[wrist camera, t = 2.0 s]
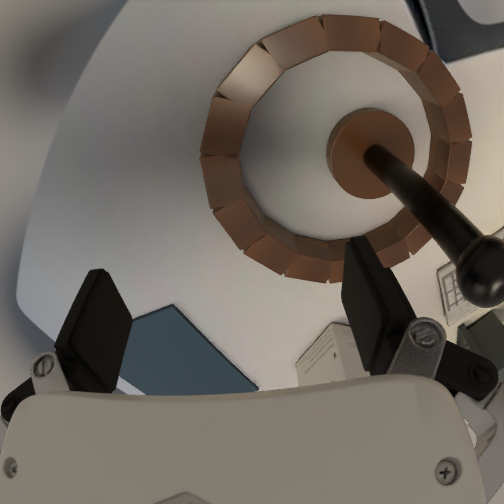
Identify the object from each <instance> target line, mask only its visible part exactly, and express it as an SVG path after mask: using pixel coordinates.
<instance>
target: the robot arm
mask: <svg viewBox="0 0 504 504" xmlns="http://www.w3.org/2000/svg"><path fill="white" fill-rule="evenodd" d="M341 299H342V303H343V306H344V309H345V312H346V315H347V318H348V321H349V324H350V327H351V330H352V333H353V336H354V339H355V342H356V346H357V349H358V352H359V355H360V358H361V362H362V365H363V368H364V370H365V372H367V371H369V373H370V376H368V377H362V378H355V379H349V380H343V381H337V382H330V383H324V384H317V385H309V386H302V387H295V388H287V389H278V390H269V391H259V392H247V393H233V394H215V395H181V396H161V395H125V394H124V395H123V394H112V391H114V390H115V389H116V385H117V381H118V377H119V373H120V369H121V365H122V361H123V357H124V353H125V349H126V346H127V342H128V338H129V335H130V331H131V328H132V324H133V320H132V316H131V314H130V312H129V310H128V309H127V307H126V305H125V303H124V301H123V299H122V297H121V296H120V294H119V292H118V290H117V288H116V286H115V284H114V282H113V280H112V278H111V276H110V274H109V273H108V272H106V271H105V270H104V269H94V270H90V271H89V272H88V274H87V276H86V278H85V280H84V282H83V284H82V286H81V288H80V290H79V292H78V294H77V296H76V298H75V300H74V302H73V304H72V306H71V308H70V311H69V313H68V315H67V317H66V319H65V321H64V324H63V326H62V328H61V330H60V333H59V335H58V337H57V340H56V342H55V345H54V347H55V348H56V351H55V353H54V352H53V351H44V352H42V353H40V354H39V355H38V356H37V357H36V358H35V359H34V361H33V362H32V364H31V369H30V372H31V377H30V378H29V379H28V380H26V381H25V382H24V383H22V384H21V385H20V386H18V387H17V388H16V389H15V390H13V391H12V392H11V393H9V394H8V395H7V396H6V397H5V399H4V400H3V402H2V405H1V416H0V504H488V502H489V501H490V500H491V499H492V497H493V496H494V495H495V493H496V492H497V491H498V489H499V488H500V486H501V485H502V483H503V482H504V381H503V382H502V381H501V380H499V379H498V377H499V376H498V371H497V369H496V367H495V365H494V364H493V363H492V362H491V361H490V360H488V359H487V358H485V357H482V356H480V355H478V354H476V353H474V352H471V351H469V350H467V349H465V348H463V347H460V346H458V345H456V344H454V343H452V342H449V341H447V340H446V332H445V330H444V328H443V326H442V325H441V324H440V323H438V322H437V321H435V320H433V319H431V318H427V317H420V318H417V317H416V315H415V313H414V311H413V309H412V307H411V305H410V303H409V301H408V299H407V297H406V295H405V294H404V292H403V290H402V288H401V286H400V284H399V282H398V281H397V279H396V277H395V275H394V274H393V272H392V270H391V269H390V268H389V267H386V268H384V267H383V265H382V263H381V261H380V260H379V258H378V256H377V254H376V253H375V251H374V249H373V247H372V246H371V244H370V242H369V240H368V239H367V237H366V236H359V237H351V238H350V242H346V244H345V256H344V268H343V280H342V290H341ZM464 419H466V420H467V421H468V422H469V423H468V426H469V427H470V428H471V429H472V430H473V431H474V433H475V434H476V438H477V442H476V447H475V448H474V447H473V443H472V440H471V437H470V434H469V431H468V428H467V426H466V423H465V421H464Z"/></svg>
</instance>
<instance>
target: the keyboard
mask: <svg viewBox="0 0 504 504" xmlns="http://www.w3.org/2000/svg"><path fill="white" fill-rule="evenodd" d="M492 236H496V237H498V238H500V239H502V240H503V241H504V227H503V228H502V229H501V230H499V231H498V232H496V233H495V234H493V235H492ZM455 273H456V267H455V265H454V264H453V263H452V262H451V263H449V264H447V265H446V266H444V267H442V268H441V269H439V270H438V272H437V274H438V278H439V282H440V287H441V292H442V297H443V303H444V308H445V314H446V321H447V324H448V326H450V325H452V324H454V323H455V322H457V321H459V320H460V319H462V318H463V317H465V316H467V315H468V314H470V313H471V312H473V311H474V310H476V309H477V308H479V307H477V306H475V305H473V304H471V303H470V302H468V301H467V300H466V299H465V298H464V297H463V295H462V294H461V292H460V290H459V288H458V285H457V282H456V274H455Z"/></svg>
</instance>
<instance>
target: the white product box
mask: <svg viewBox="0 0 504 504" xmlns="http://www.w3.org/2000/svg"><path fill="white" fill-rule="evenodd" d="M296 370H297V376H298V382H299V387H302V386H309V385H317V384H324V383H330V382H337V381H343V380H349V379H355V378H362V377H368V376H370V373H369V371H367V372H365V370H364V368H363V365H362V362H361V358H360V355H359V352H358V349H357V346H356V342H355V339H354V336H353V333H352V330H351V327H349V326H344V325H339V324H335V323H331V324H330V326H329V327H328V328H327V329H326V330H325V331H324V333H323V334H322V335H321V336H320V337H319V338H318V340H317V341H316V342H315V343H314V344H313V345H312V346H311V347H310V349H309V350H308V351H307V352H306V353H305V354H304V355H303V356H302V358H301V359H300V360H299V361H298V362H297V363H296Z"/></svg>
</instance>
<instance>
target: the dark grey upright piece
mask: <svg viewBox="0 0 504 504" xmlns="http://www.w3.org/2000/svg"><path fill="white" fill-rule="evenodd" d="M457 345H458V346H460V347H463V348H465V349H467V350H469V351H471V352H474V353H476V354H478V355H480V356H482V357H485V358H487V359H488V360H490V361H491V362H492V363H493V364H494V365H495V367H496V369H497V371H498V376H499V377H498V379H499V380H501V381H502V382H503V381H504V325H503V324H502V323H501V321H500V320H499V319H498V318H497V317H496V315H495V314H494V313H493V312H490V313H489V314H488V315H486V316H485V317H484V318H482V319H481V320H480V321H479V322H477V323H476V324H474V325H473V326H472V327H470V328H469V329H468V330H467V328H466V327H465V326H464V325H463V326H461V327H460V328H458V334H457Z"/></svg>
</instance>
